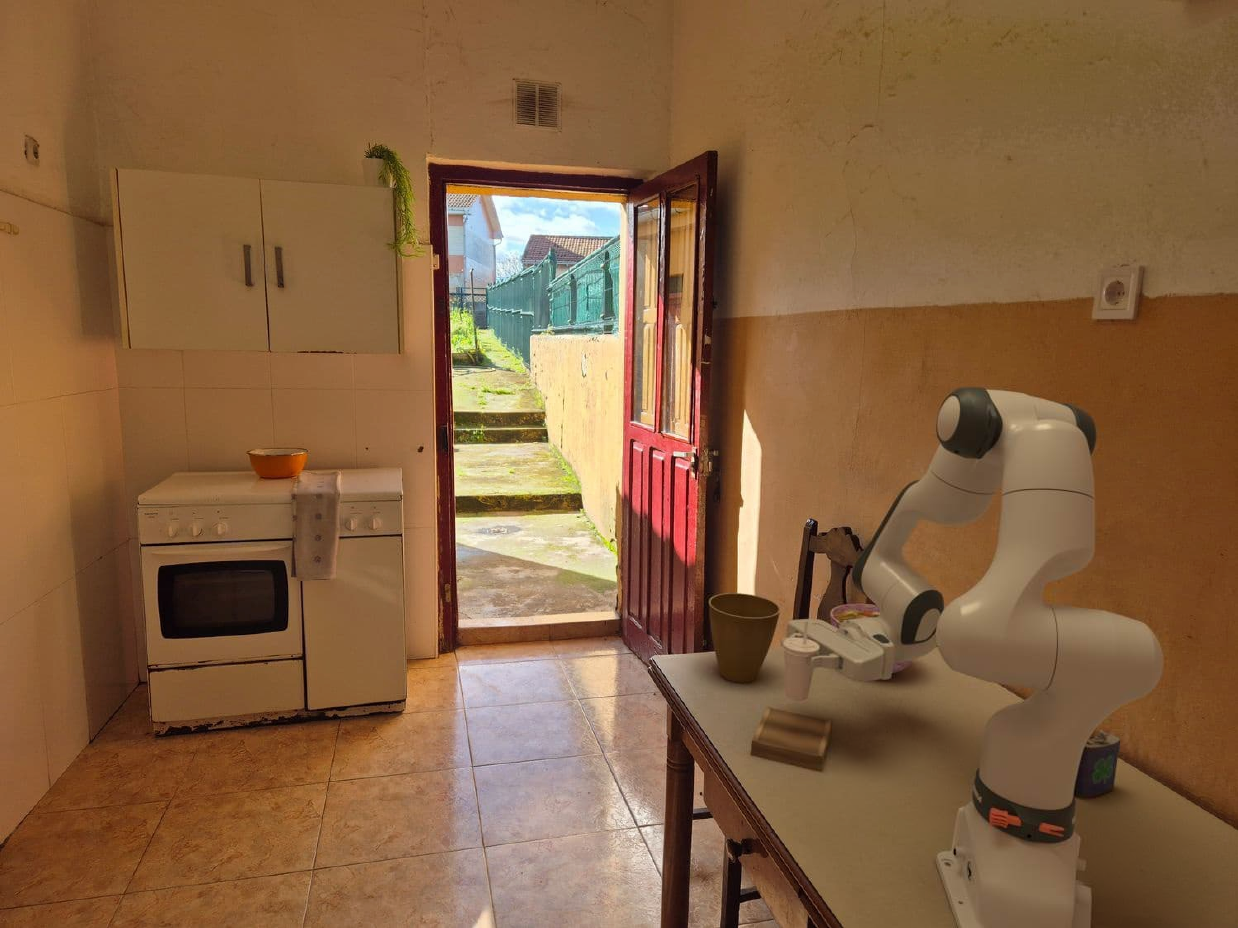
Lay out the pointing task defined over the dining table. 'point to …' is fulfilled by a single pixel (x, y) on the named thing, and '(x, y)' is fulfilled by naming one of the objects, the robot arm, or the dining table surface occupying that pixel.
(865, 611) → the bowl of food
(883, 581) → the robot arm
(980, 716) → the dining table surface
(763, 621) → the plant pot
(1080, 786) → the flask
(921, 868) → the dining table surface
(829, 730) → the board
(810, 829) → the dining table surface
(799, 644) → the smoothie
